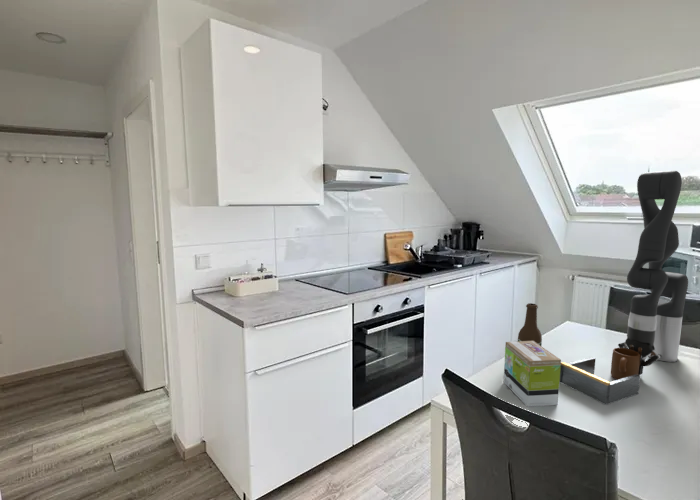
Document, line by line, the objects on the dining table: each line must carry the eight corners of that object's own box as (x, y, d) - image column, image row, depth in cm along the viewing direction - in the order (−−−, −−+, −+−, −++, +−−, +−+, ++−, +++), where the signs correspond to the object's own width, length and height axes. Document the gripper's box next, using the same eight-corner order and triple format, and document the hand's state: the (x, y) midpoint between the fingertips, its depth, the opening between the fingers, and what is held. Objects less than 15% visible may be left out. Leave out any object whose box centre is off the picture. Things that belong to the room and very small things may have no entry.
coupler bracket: (590, 373, 133) (592, 354, 132) (638, 393, 119) (640, 373, 118) (559, 381, 127) (560, 362, 126) (605, 404, 113) (607, 383, 112)
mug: (634, 390, 121) (637, 362, 120) (606, 383, 126) (608, 356, 125) (638, 377, 130) (641, 351, 129) (612, 370, 135) (614, 345, 134)
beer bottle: (538, 365, 139) (542, 302, 136) (541, 375, 132) (546, 308, 128) (515, 362, 142) (519, 300, 138) (516, 371, 134) (521, 306, 131)
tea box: (502, 383, 126) (504, 340, 124) (530, 381, 127) (533, 339, 125) (526, 407, 112) (529, 359, 109) (559, 406, 112) (563, 358, 110)
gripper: (671, 331, 124) (664, 381, 126) (627, 319, 136) (623, 365, 138) (657, 334, 121) (651, 385, 123) (614, 322, 133) (609, 368, 135)
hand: (636, 374), depth 131 cm, fingers closed
